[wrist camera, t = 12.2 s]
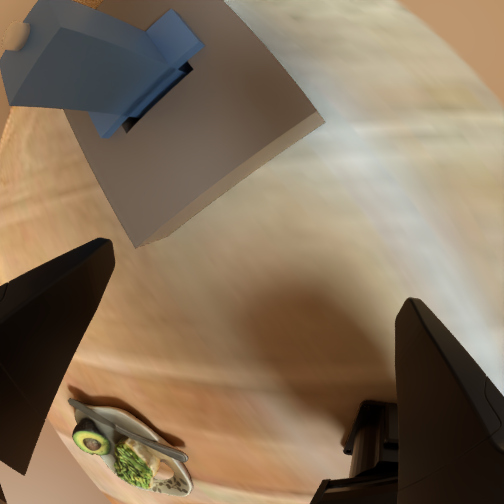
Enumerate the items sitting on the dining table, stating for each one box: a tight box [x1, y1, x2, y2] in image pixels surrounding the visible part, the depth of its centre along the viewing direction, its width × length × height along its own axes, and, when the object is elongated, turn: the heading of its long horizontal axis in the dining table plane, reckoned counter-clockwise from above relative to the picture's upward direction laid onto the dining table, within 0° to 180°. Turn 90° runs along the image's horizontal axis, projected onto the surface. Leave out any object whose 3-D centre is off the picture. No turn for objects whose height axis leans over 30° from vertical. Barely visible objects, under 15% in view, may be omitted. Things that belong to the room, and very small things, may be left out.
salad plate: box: [68, 398, 194, 497], centre depth 32 cm, size 19×18×5 cm
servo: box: [0, 0, 205, 138], centre depth 15 cm, size 4×9×14 cm, turn 125°
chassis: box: [63, 0, 325, 249], centre depth 19 cm, size 18×14×4 cm
